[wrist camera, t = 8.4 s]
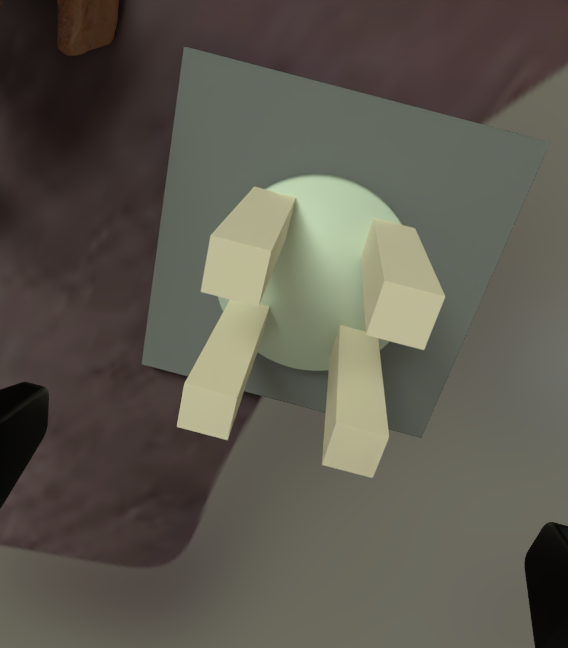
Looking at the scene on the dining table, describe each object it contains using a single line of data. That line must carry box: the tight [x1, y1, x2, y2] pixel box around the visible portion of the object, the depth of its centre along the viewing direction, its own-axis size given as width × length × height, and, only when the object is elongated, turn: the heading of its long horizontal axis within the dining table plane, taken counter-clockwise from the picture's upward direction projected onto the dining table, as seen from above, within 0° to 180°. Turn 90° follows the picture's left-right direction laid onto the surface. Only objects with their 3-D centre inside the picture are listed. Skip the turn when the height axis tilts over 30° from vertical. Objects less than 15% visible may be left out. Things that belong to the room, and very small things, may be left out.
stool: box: [177, 174, 445, 478], centre depth 16 cm, size 7×7×7 cm
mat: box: [142, 47, 550, 438], centre depth 20 cm, size 12×12×1 cm
